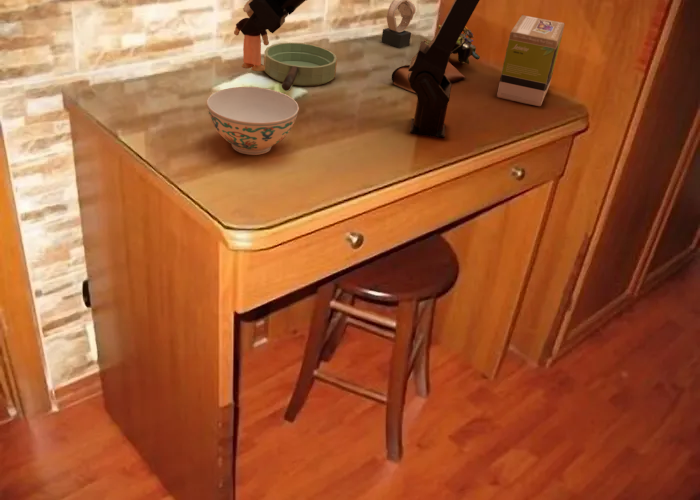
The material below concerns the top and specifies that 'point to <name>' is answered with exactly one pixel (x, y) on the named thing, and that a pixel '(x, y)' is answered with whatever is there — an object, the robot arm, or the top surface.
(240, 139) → the chinaware
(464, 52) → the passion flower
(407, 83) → the sunglasses case
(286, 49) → the pan
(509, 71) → the tea box
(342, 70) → the top surface
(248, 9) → the grandmother figurine
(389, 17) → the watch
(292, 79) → the pan handle
